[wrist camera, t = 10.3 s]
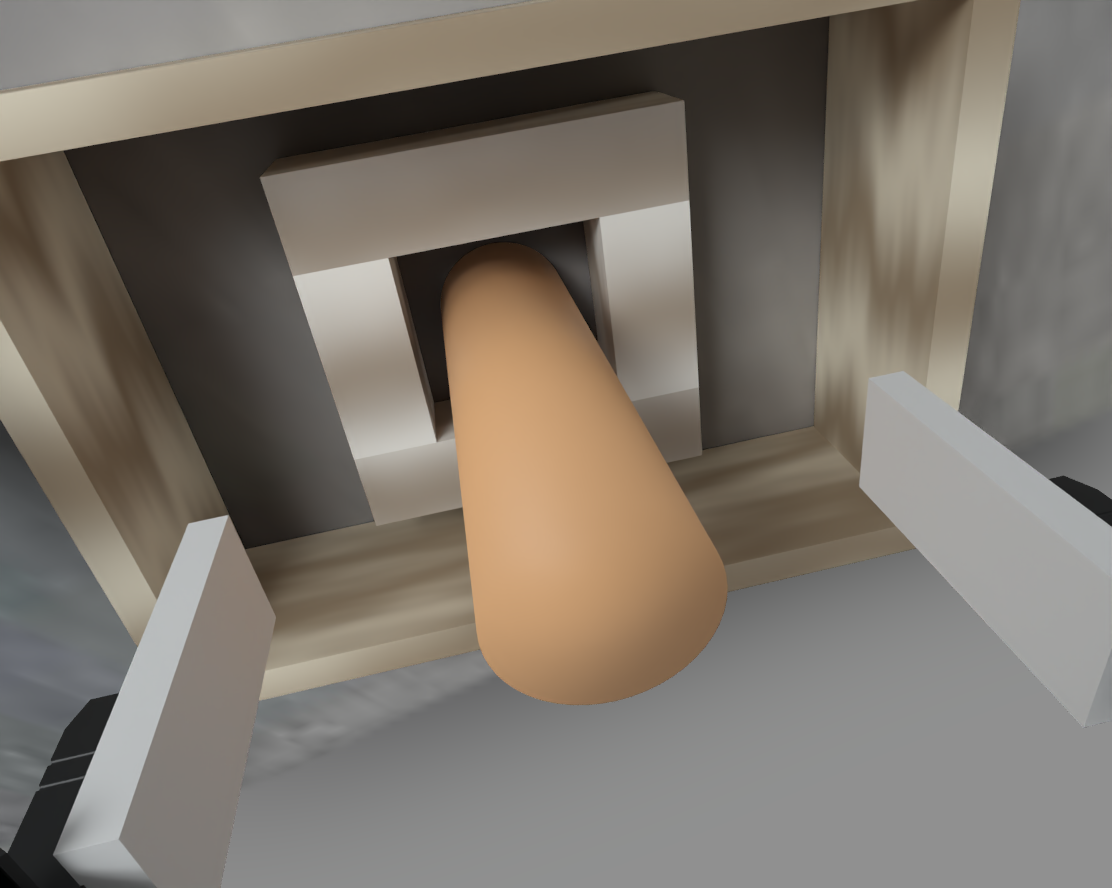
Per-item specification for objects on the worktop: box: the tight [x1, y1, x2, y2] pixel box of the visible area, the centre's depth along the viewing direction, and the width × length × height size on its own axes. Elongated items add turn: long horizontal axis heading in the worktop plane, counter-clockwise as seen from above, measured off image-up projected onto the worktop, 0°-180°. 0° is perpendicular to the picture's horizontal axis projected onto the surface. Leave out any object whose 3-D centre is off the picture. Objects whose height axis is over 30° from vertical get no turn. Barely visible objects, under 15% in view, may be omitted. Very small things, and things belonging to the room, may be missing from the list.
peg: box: [440, 242, 728, 705], centre depth 20 cm, size 4×4×16 cm
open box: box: [0, 0, 1021, 701], centre depth 24 cm, size 18×26×7 cm
